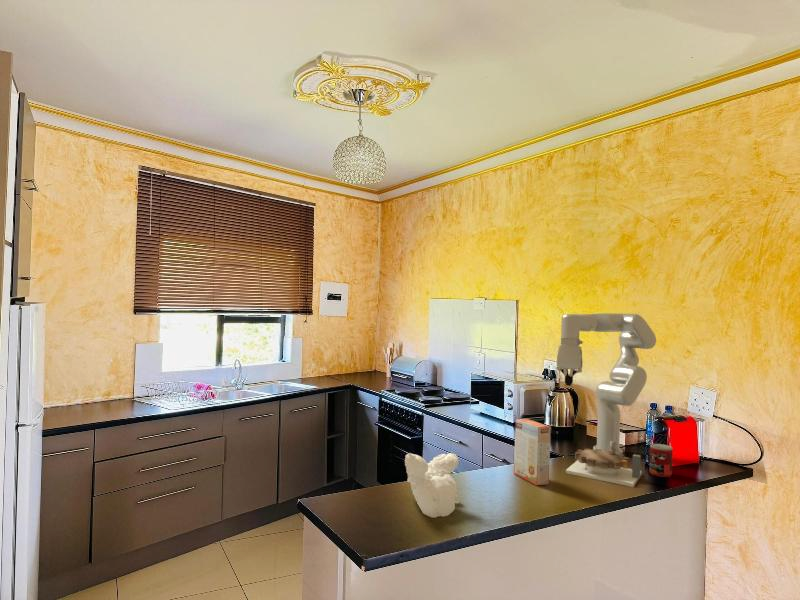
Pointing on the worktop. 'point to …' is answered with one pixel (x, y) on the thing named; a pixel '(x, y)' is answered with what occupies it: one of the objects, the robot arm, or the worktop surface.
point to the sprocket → (602, 458)
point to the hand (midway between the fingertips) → (568, 385)
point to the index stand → (609, 472)
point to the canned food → (661, 460)
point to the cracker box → (532, 451)
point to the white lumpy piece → (433, 483)
